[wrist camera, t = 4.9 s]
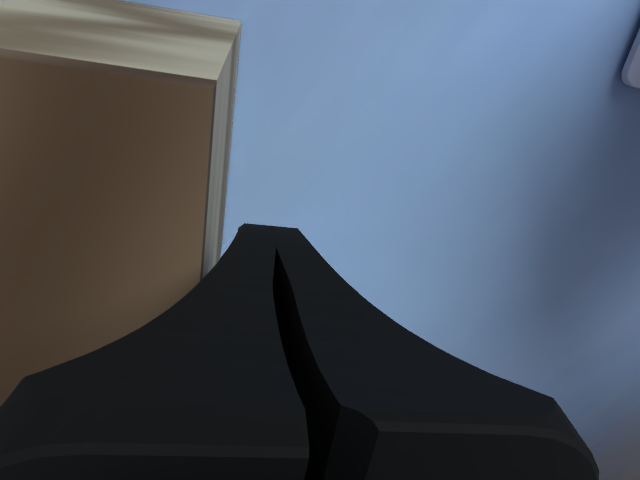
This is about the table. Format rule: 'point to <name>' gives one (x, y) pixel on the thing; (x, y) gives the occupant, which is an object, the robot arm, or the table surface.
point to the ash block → (106, 170)
